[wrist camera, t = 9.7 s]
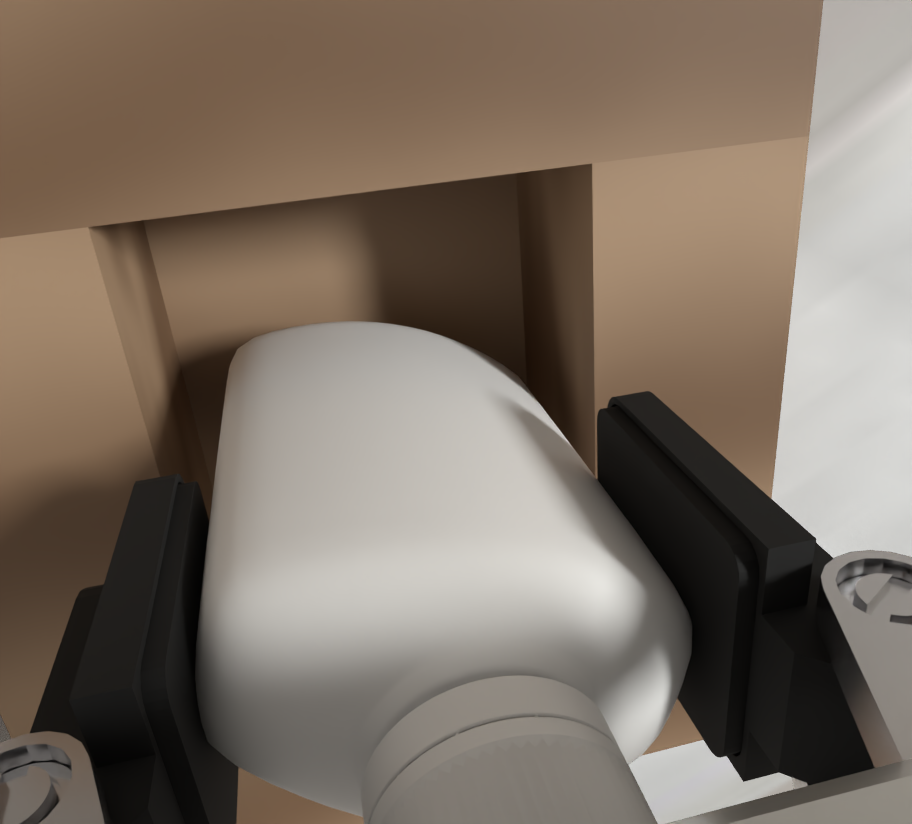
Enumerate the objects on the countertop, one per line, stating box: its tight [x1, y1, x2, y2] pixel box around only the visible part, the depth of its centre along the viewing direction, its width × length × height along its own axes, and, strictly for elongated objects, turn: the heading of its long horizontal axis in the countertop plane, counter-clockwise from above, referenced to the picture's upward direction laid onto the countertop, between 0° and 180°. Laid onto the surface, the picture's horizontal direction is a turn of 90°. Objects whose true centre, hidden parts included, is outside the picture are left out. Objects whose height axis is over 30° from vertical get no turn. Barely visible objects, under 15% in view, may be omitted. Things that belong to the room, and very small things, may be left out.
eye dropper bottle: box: [195, 321, 692, 824], centre depth 10 cm, size 4×6×12 cm
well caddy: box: [0, 0, 823, 824], centre depth 15 cm, size 16×14×5 cm
